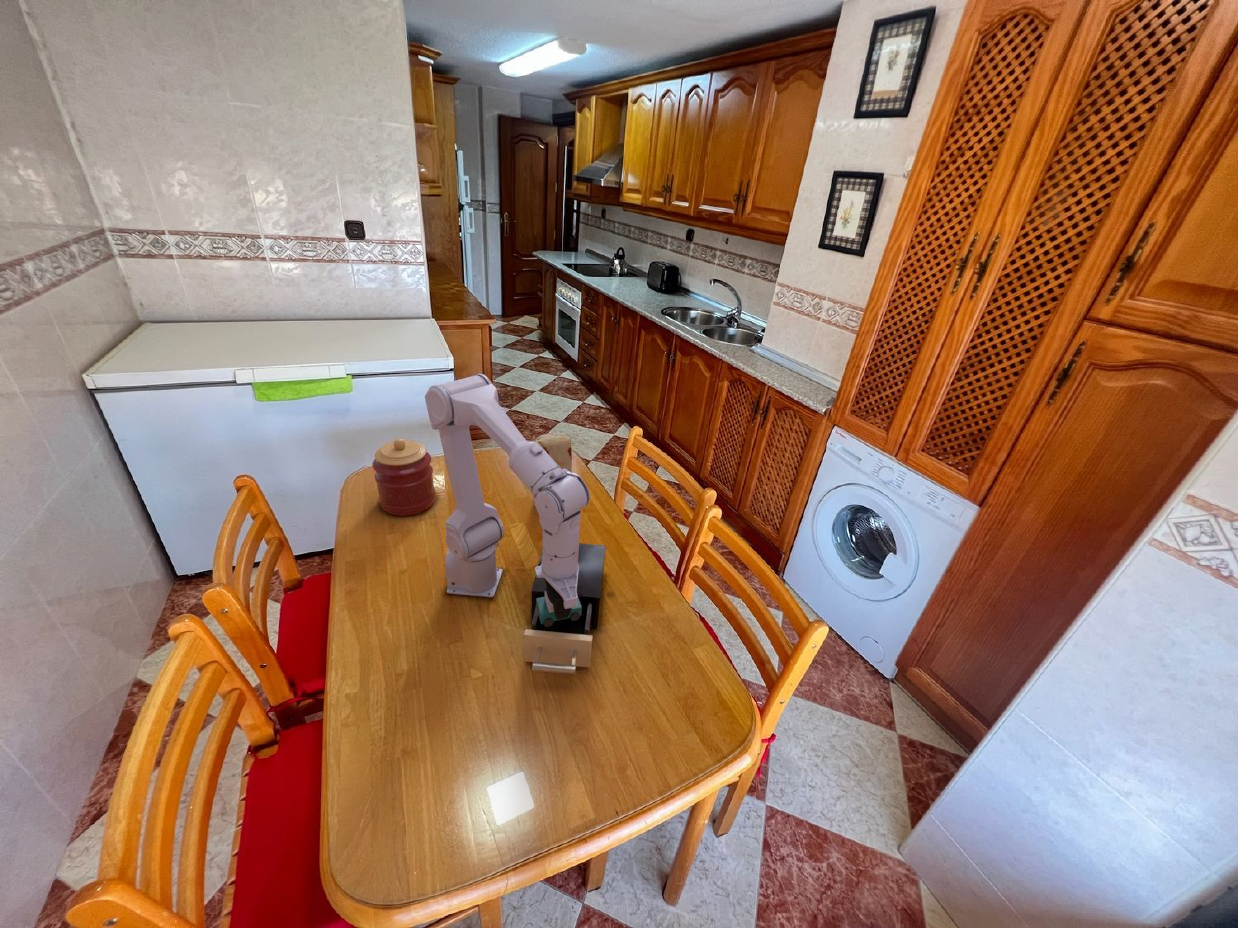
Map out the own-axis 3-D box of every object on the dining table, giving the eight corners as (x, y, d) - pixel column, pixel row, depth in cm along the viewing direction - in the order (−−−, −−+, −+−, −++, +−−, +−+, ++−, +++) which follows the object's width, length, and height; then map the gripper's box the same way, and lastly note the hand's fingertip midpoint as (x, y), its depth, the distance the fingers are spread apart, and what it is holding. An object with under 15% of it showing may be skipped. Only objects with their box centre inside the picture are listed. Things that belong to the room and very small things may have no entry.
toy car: (541, 628, 83) (541, 610, 80) (535, 606, 86) (535, 589, 84) (581, 619, 85) (583, 602, 83) (574, 598, 89) (575, 582, 87)
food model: (534, 513, 124) (534, 443, 114) (530, 498, 129) (529, 430, 119) (572, 509, 127) (575, 440, 117) (567, 494, 132) (569, 427, 122)
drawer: (587, 689, 82) (589, 663, 79) (519, 683, 82) (518, 656, 79) (596, 608, 98) (598, 583, 94) (538, 603, 98) (539, 577, 94)
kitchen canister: (429, 482, 131) (421, 423, 123) (442, 509, 122) (434, 446, 113) (376, 494, 125) (363, 432, 116) (385, 522, 116) (372, 457, 107)
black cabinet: (597, 629, 94) (600, 597, 90) (531, 623, 94) (531, 590, 90) (602, 576, 107) (605, 545, 103) (544, 570, 107) (545, 539, 102)
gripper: (526, 521, 82) (527, 581, 89) (545, 582, 71) (545, 645, 78) (567, 516, 85) (565, 574, 92) (592, 573, 73) (587, 635, 80)
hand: (558, 606), depth 85 cm, fingers closed on toy car, 4 cm apart
